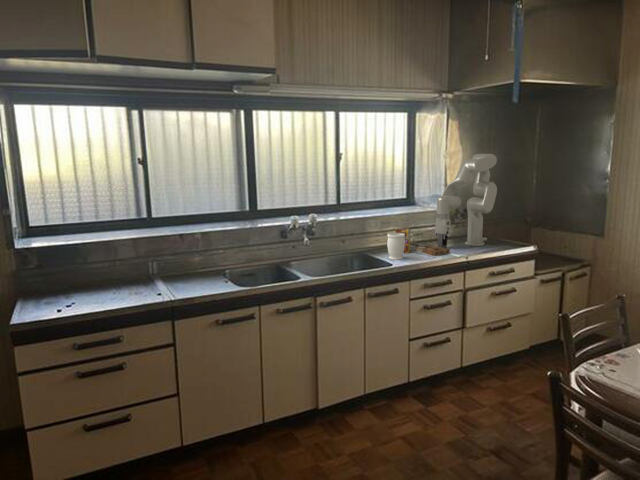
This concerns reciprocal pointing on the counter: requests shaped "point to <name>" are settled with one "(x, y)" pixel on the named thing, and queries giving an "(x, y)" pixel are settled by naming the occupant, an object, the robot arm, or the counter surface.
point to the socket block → (432, 250)
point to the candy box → (405, 238)
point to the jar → (395, 245)
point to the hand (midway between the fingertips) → (442, 244)
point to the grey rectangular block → (441, 241)
